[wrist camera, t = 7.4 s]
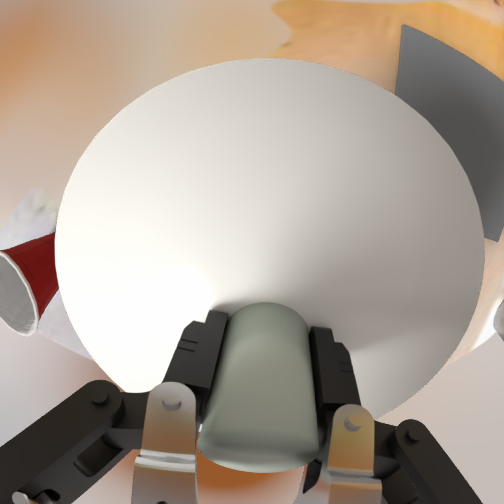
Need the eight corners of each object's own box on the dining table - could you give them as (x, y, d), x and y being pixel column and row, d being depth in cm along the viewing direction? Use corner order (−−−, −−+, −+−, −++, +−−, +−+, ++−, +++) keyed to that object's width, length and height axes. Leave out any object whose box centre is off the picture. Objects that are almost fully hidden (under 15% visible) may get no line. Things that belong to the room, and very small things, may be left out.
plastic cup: (95, 235, 30) (33, 285, 19) (85, 297, 35) (39, 352, 24) (38, 200, 29) (-26, 235, 18) (34, 263, 33) (-16, 305, 23)
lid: (516, 155, 7) (617, 197, 2) (374, 433, 15) (386, 503, 10) (65, 70, 7) (-56, 69, 2) (105, 393, 16) (72, 460, 10)
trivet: (523, 100, 17) (526, 100, 17) (495, 240, 26) (498, 242, 26) (401, 25, 18) (403, 24, 17) (372, 204, 26) (374, 205, 26)
